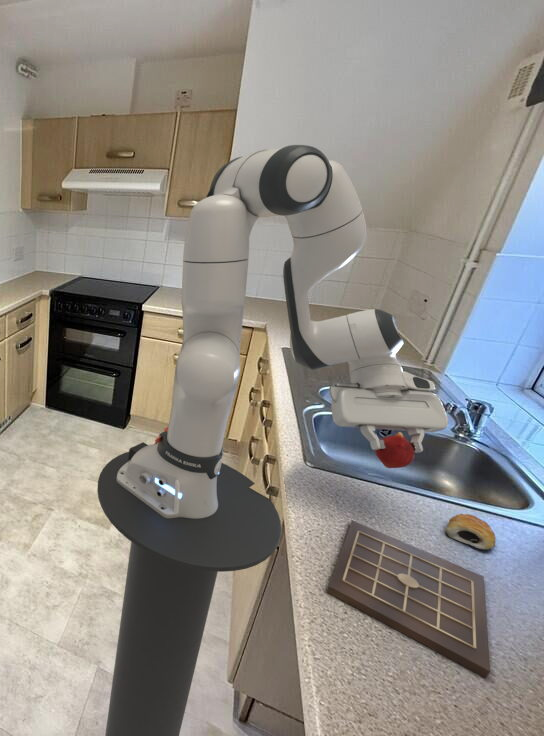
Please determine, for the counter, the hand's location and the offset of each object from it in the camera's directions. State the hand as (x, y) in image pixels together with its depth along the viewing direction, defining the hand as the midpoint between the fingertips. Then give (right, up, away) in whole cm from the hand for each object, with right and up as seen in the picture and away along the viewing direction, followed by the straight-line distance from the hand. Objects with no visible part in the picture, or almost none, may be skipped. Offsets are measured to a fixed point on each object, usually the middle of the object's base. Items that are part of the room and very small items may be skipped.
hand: (397, 450), depth 81 cm
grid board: (-7, -21, -9) cm, 25 cm away
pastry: (+16, -18, +2) cm, 24 cm away
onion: (0, -4, +2) cm, 5 cm away
